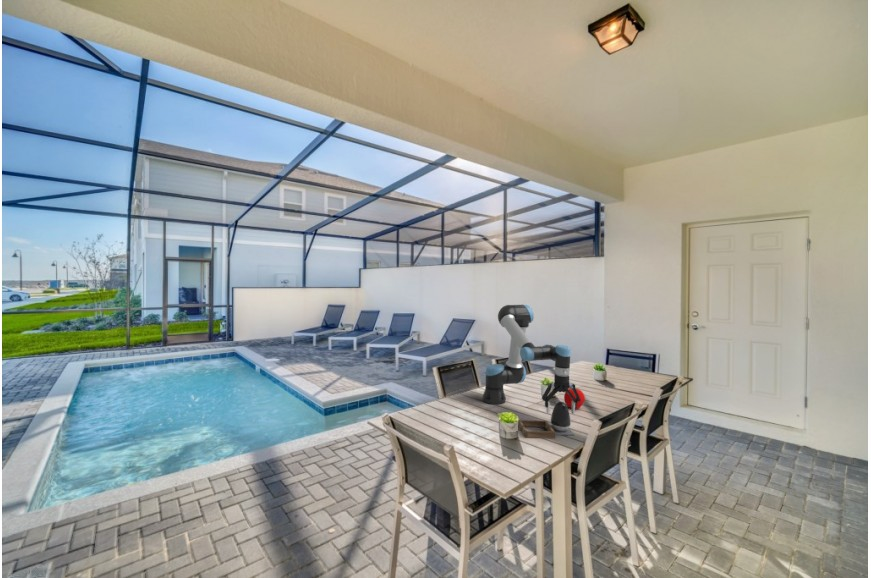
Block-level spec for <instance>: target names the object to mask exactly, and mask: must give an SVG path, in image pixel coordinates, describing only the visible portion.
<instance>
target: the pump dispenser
mask: <svg viewBox="0 0 871 578" xmlns="http://www.w3.org/2000/svg"><path fill="white" fill-rule="evenodd" d="M550 423H551V424H550V425H552V426H553V428H554V429H556V430H557V431H566V430H568V429H570V426H571V424H572V422H571V415H570V411H569V408H568V406H567V405H566V403H565V401H562V400H560V401H557V402H556V403H555V405H554V407H553V409H552V412H551V415H550Z"/></svg>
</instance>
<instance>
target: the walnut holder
mask: <svg viewBox="0 0 871 578" xmlns="http://www.w3.org/2000/svg"><path fill="white" fill-rule="evenodd" d="M550 425H551V424H550V423H549V421H547V420H529V419H528V420H523V419H519V420H518V427H519V430H520V431H521V433H522V434H523V436H524V438H525V439H526V438H527V439H556V435H555V431H554V430H553V429H552V427H551V426H550ZM527 427H528V428H529V427H534V428H535V427H536V428H538V427H540V428H541V427H543V428H545V429H546V430H545V431H544V430H543V431H542V430H541V431H538V430H528V429H527Z"/></svg>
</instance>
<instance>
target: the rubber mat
mask: <svg viewBox="0 0 871 578" xmlns="http://www.w3.org/2000/svg"><path fill="white" fill-rule="evenodd" d="M549 425H550V426H551V427H552V429H553V430H554V431H555V436H575V433H574V432H573V431H572V429H570V428H569V429H568V430H566V431H557V430H556V429H554V428H553V426H552V424H549Z"/></svg>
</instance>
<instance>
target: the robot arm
mask: <svg viewBox="0 0 871 578" xmlns="http://www.w3.org/2000/svg"><path fill="white" fill-rule="evenodd" d="M497 319H498V323H499V324H500V325H501V327H502V328H504V329H505V330H506V331H507V332H508V334H509V336H510V345H509V352H508V359H507V361H505V366H504V365H503V364H501V363H492V364H489V365H487V367H486V368H485V389H484V392H483V394H482V401H483V402H484V403H487V404H490V405H491V404H492V405H502V404H505V403H506V402H507V401H506V398H507V397H506V393H505V391H504V385H511V384H512V385H513V384H517V385H518V384H521V383H523V382H524V381H525V379H526V377H527V371H526V368H525V366H524V364H523V363H522V361H524V362H532V361H533V362H535V361H548V360H549V361H550V360H552V361H553V362H554V382H553V383H551V382H548V383H547V388H546V389H545V390H544V392H543V394H542V397H541V400H542V401H543V402H544V407H545V408H546V411H545V412H546V414H547V415H550V409H551V407H550V405H551V402H550V400H551V399H552V398H553V397H554V396H555V395H556V394H557V393H565V392H567V393H568V394H569V395H570V397H571V398H572V399H573V400H574V401H572V408H571V411H570V412H571V414H572V415H575V412H576V411H575V410H576V409H575V408H576V407H577V403H578V401H581V400H580V398H579V395H578V393H577V391H576V389H577V388H576V384H575V383H573V382H572V383H570V373H571V372H570V371H571V370H570V368H571V355H572V354H571V347H570V346H568V345H563V344H559V345H556V346H554V345H551V344H544V345H541V346H535V344H533V342H532V341H531V340H530V338H529V337H528V336H527V335H526V330H527V328H529V327H530V323H532V322H533V321H534V319H535V317H534V311H533V308H531V306H530V305H527V304H505V305H503V306H502V307H501V308H500V309H499V310H498V313H497ZM553 387H554V388H553ZM552 388H553V389H552ZM570 388H572V390H573V392H574V394H575V396H576V399H575V398H574V396H573V395H572V394H571V393H570V391H569V390H568V389H570Z"/></svg>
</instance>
